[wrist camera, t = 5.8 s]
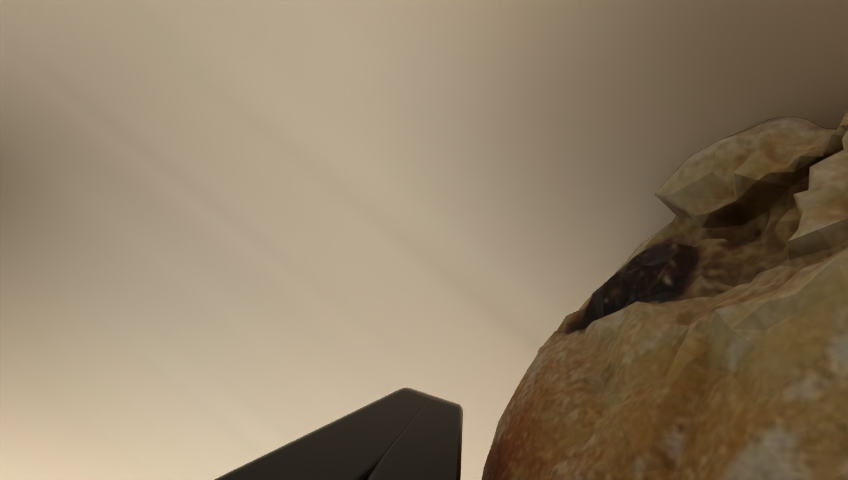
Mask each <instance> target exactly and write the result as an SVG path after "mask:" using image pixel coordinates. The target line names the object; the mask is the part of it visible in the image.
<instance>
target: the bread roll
mask: <svg viewBox="0 0 848 480" xmlns="http://www.w3.org/2000/svg"><path fill="white" fill-rule="evenodd" d="M655 195H656V196H657V197H658V198H659V199H660V200H661V201H662V202H663V203H664V204H665V205H667V206H668V207H669V208H670V209H671V210H672V211H673V212H674V213H675V214H676V217H675V219H674V221H673V222H672V223H671V224H669V225H668V226H666V227H665V228H664V229H662V230H661V231H659V232H658V233H657V234H655V235H654V236H652V237H651V238H649V239H648V240H647V241H645V242H644V243H642V244H641V245H640V246H639V247H638V249H637V250H636V251H635V252H634V253H633V254H632V255H631V256H630V258H629V259H628V260H627V261H626V262H625V263H624V264H623V265H622V266H621V268H620V269H619V270H618V271H617V272H616V273H615V274H614V275H613V276H612V277H611V278H610V279H609V280H608V281H607V282H605V283H604V284H603V285H602V286H601V287H600V288H599V289H597V290H596V291H595V292H594V293H593V294H592V296H591V297H590V298H589V299H588V300H587V301H586V302H585V303H584V304H583V306H582V307H581V308H580V309H579V311H577V312H574V313H572V314H570V315H568V316H566V318H565V319H564V321H563V322H562V324H561V325H560V327H559V328H558V330H557V331H555V332H554V334H553V335H552V336H551V337H550V338H549V339H548V341H547V342H546V343H545V344H544V345H543V346H542V347H541V348H540V349H539V351H538V354H537V356H536V358H535V359H534V361H533V362H532V364H531V366H530V367H529V369H528V370H527V372H526V373H525V375H524V377H523V379H522V380H521V382H520V384H519V385H518V387H517V389H516V391H515V393H514V395H513V396H512V398H511V400H510V402H509V404H508V406H507V407H506V409H505V411H504V413H503V415H502V417H501V418H500V420H499V422H498V426H497V429H496V433H495V436H494V440H493V443H492V446H491V449H490V451H489V454H488V457H487V460H486V463H485V466H484V471H483V476H482V480H848V111H846V112H845V114H844V116H843V118H842V120H841V122H840V124H839V126H838V128H837V130H835V129H826V128H821V127H819V126H818V125H816V124H814V123H812V122H810V121H808V120H806V119H803V118H797V117H781V118H775V119H769V120H767V121H765V122H763V123H761V124H759V125H757V126H755V127H753V128H751V129H749V130H746V131H743V132H741V133H738V134H735V135H732V136H730V137H727V138H724V139H721V140H719V141H717V142H715V143H713V144H712V145H710V146H708V147H706V148H704V149H703V150H701V151H699V152H697V153H696V154H694V155H692V156H690V157H689V158H688V159H687V160H686V161H685V162H684V163H683V165H682V166H681V167H680V168H679V169H678V170H677V171H676V172H675V173H674V174H673V175H672V176H671V177H670V178H669V179H668V180H667V181H666V182H665V183H664V184H663V185H662V186H661V187H660V188H659V189H658V190H657V192H656V193H655Z"/></svg>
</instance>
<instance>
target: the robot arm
mask: <svg viewBox="0 0 848 480" xmlns="http://www.w3.org/2000/svg"><path fill="white" fill-rule="evenodd" d="M462 423H463V409H462V407H461V406H460V405H459V404H456V403H453V402H450V401H447V400H444V399H441V398H438V397H434V396H432V395H429V394H426V393H423V392H420V391H417V390H413V389H410V388H402V389H399V390H397V391H395V392H393V393H391V394H389V395H387V396H385V397H383V398H381V399H379V400H377V401H375V402H373V403H371V404H369V405H367V406H365V407H362V408H360V409H358V410H356V411H354V412H352V413H350V414H348V415H346V416H344V417H342V418H340V419H338V420H336V421H334V422H332V423H330V424H328V425H325V426H323V427H321V428H319V429H317V430H315V431H313V432H311V433H309V434H307V435H305V436H303V437H301V438H299V439H297V440H295V441H293V442H291V443H288V444H286V445H284V446H282V447H280V448H278V449H276V450H274V451H272V452H270V453H268V454H266V455H264V456H262V457H260V458H258V459H256V460H254V461H252V462H249V463H247V464H245V465H243V466H241V467H239V468H237V469H235V470H233V471H231V472H229V473H227V474H225V475H223V476H221V477H219V478H217V479H215V480H460V477H461V450H462Z"/></svg>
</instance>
